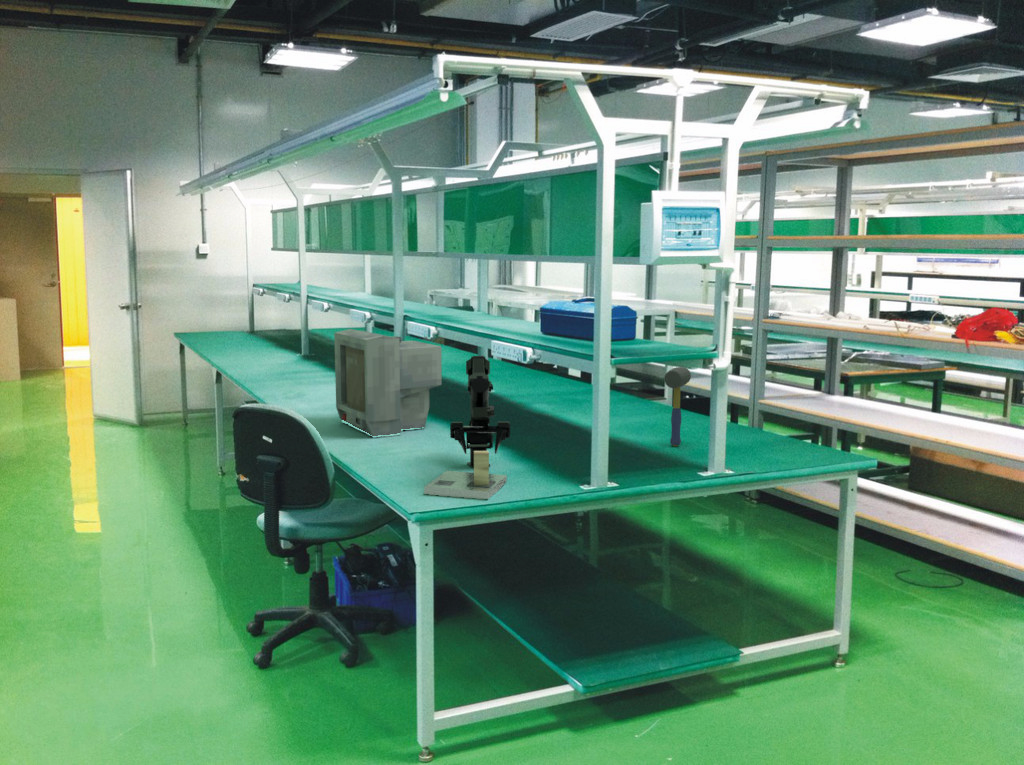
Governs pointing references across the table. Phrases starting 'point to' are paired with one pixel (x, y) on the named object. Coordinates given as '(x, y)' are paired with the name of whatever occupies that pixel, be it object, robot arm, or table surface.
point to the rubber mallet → (676, 399)
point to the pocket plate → (464, 485)
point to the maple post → (481, 468)
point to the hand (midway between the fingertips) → (480, 453)
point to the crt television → (384, 381)
